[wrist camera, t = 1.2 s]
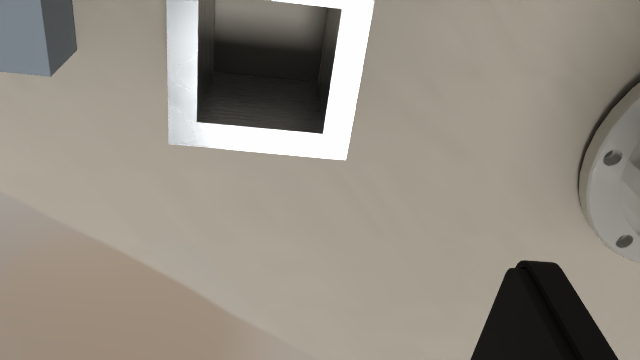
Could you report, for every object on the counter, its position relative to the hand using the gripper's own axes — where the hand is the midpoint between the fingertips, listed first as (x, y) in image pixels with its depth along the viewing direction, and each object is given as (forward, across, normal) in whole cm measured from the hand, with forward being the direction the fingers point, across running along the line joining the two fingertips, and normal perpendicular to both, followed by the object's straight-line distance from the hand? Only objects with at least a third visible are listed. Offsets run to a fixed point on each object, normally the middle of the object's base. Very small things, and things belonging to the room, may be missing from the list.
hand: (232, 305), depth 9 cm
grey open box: (+16, 0, 0) cm, 16 cm away
